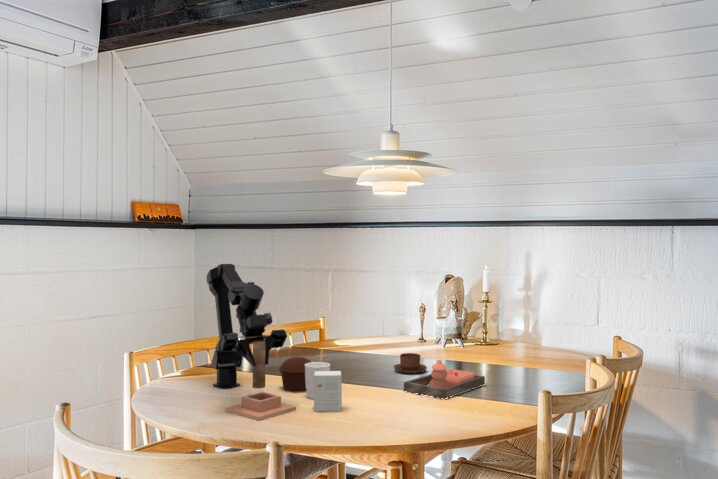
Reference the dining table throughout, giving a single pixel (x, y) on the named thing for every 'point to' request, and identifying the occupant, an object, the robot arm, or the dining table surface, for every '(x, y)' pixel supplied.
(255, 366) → the thick brown pillar
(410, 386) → the dark grey tray
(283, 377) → the muffin
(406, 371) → the cup and saucer
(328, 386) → the small box
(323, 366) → the white cup
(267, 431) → the dining table surface
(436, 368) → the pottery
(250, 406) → the pink square stand base
